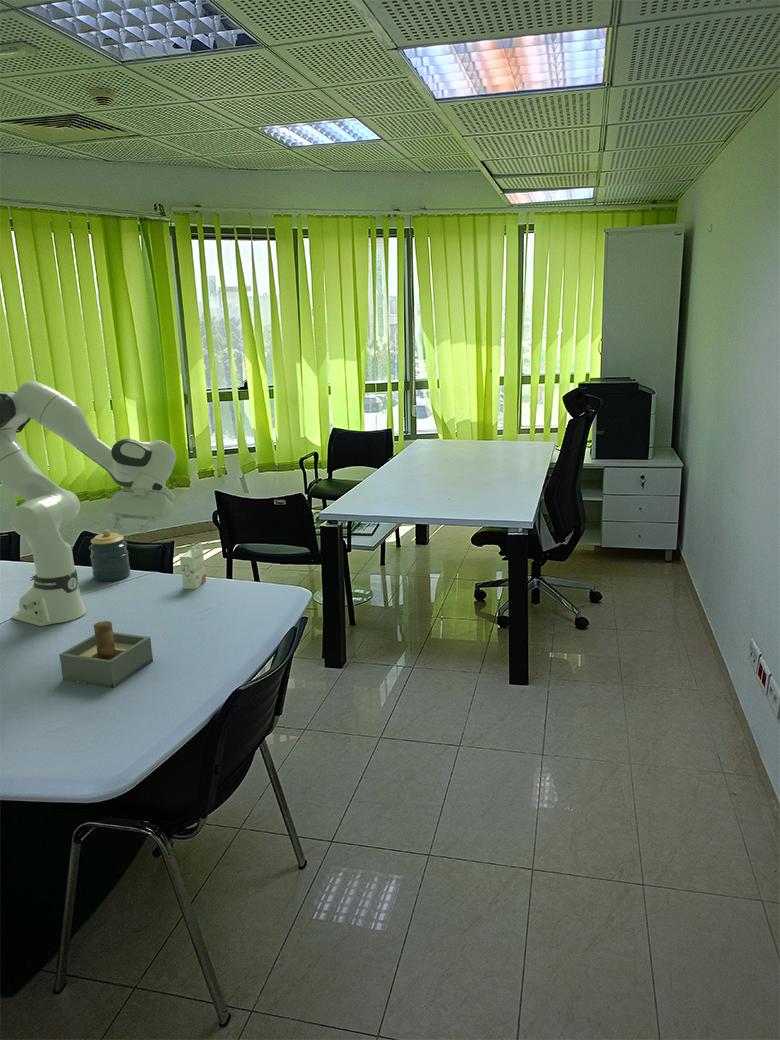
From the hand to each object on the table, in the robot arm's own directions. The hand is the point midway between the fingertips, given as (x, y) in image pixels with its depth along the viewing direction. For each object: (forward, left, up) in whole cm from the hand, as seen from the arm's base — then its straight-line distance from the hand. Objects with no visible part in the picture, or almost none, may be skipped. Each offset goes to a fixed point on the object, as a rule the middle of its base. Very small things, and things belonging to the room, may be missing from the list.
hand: (128, 530), depth 218 cm
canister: (-42, +39, -31) cm, 65 cm away
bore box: (+9, -25, -31) cm, 41 cm away
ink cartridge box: (-7, +39, -31) cm, 50 cm away
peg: (+9, -25, -30) cm, 40 cm away
